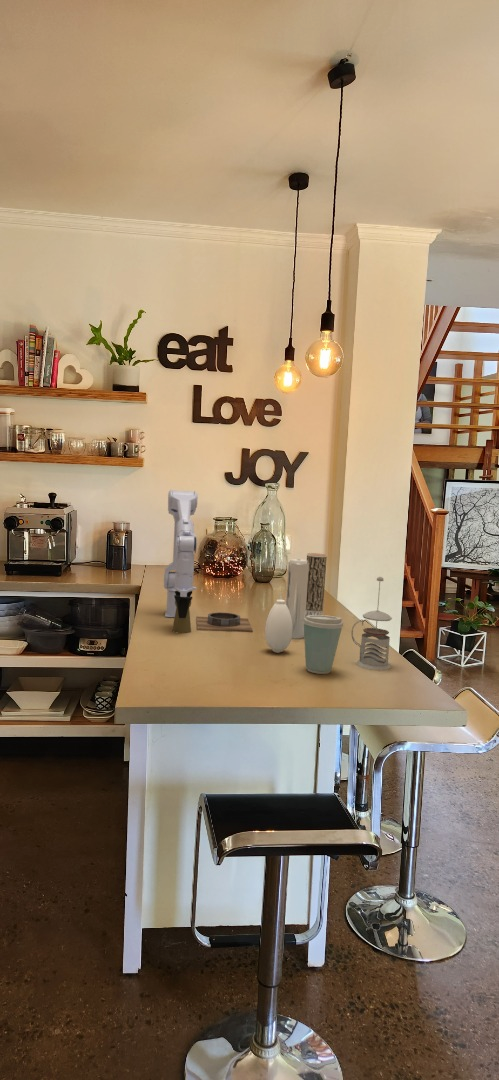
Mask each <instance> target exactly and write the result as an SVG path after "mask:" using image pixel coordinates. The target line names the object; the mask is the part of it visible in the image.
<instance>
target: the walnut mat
mask: <svg viewBox="0 0 499 1080" xmlns="http://www.w3.org/2000/svg"><path fill="white" fill-rule="evenodd" d="M196 630H197V631H213V632H215V631H216V632H217V631H219V632H242V633H245V632H246V633H253V628H252V625H251V623H250V620H249V618H246V617H245V618H244V617H243V618H242V617H240V625H238V626H233V627H220V626H214V625H210V624H208V616H198V615H197V616H196Z"/></svg>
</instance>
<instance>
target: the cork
mask: <svg viewBox="0 0 499 1080" xmlns="http://www.w3.org/2000/svg"><path fill="white" fill-rule="evenodd" d="M175 605H176V612H175V617H173V625H172V630H171V632H173V631H174V632H173V633H176V632H178V634H189V633H191V632H192V627H191V614H190V612H191V611H190V607H191V605H192V601H191V602H190V604H189V607H188V611H187V615H186V618H179V615H178V607H177V603H176V600H175Z"/></svg>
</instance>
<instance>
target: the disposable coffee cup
mask: <svg viewBox="0 0 499 1080" xmlns="http://www.w3.org/2000/svg"><path fill="white" fill-rule="evenodd" d="M342 620H343V619H342V617H340V616H333V615H326V614H323V615H308V616H306V617H305V618H304V620H303V623H304V652H305V653H304V654H305V656H304V657H305V666H306V671H307V672H309V673H312V674H318V675H319V674H320V675H325V674H330V673H331V670H332V668H333V665H334V660H335V656H336V653H337V648H338V645H339V640H340V637H341V636H340V635H341V632H342V628H344V622H343V621H342Z"/></svg>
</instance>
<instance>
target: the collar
mask: <svg viewBox="0 0 499 1080" xmlns="http://www.w3.org/2000/svg"><path fill="white" fill-rule="evenodd" d="M207 617H208V624H210V625H214V626H220V627H233V626H238V625H240V618H241V616H240V615H239V614H236V613H230V612H222V611H221V612H211V613H208V614H207Z"/></svg>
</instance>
